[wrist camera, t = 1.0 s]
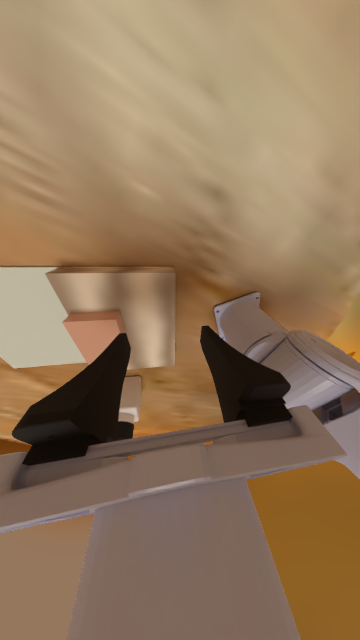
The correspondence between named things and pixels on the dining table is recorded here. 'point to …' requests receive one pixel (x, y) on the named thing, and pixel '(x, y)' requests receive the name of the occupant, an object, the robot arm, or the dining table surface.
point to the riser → (126, 305)
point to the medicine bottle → (129, 407)
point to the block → (94, 331)
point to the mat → (33, 320)
